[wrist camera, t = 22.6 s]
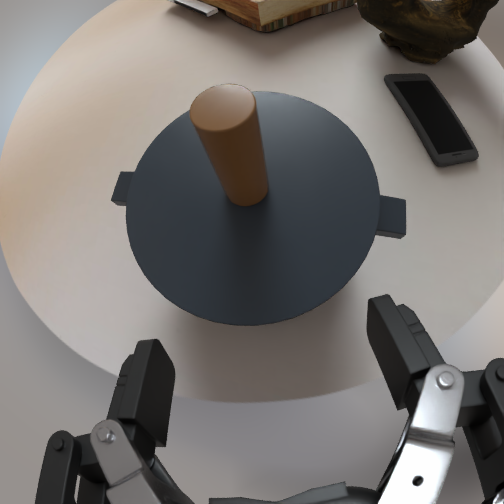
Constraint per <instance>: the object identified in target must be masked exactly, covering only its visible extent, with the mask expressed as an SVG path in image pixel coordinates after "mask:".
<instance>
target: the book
mask: <svg viewBox="0 0 504 504" xmlns="http://www.w3.org/2000/svg"><path fill="white" fill-rule="evenodd" d="M168 1H171V2H174V3H176V4H179V5H181V6H184V7H186V8H189V9H191V10H193V11H196V12H198V13H200V14H202V15H205V16H207V17H208V16H211V15H213V14H215V13H217V12H218V9H217V8H218V7H219V8H221V9H224V10H226V14H227V16H229V17H231V18H232V19H233V20H235V21H236V22H239V23H241V24H243V25H245V26H247V27H251V28H253V30H256V31H263V32H266V31H267V32H268V31H273V30H276V29H278V28H282V27H284V26H286V25H292V24H294V23H295V22H298V21H300V20H303V19H306V18H309V17H312V16H316V15H319V14H321V13H322V14H327V13H329V12H332V11H334V10H338V9H340V8H344V7H348V6H351V5H353V4H354V3H357V1H356V0H168Z"/></svg>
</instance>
